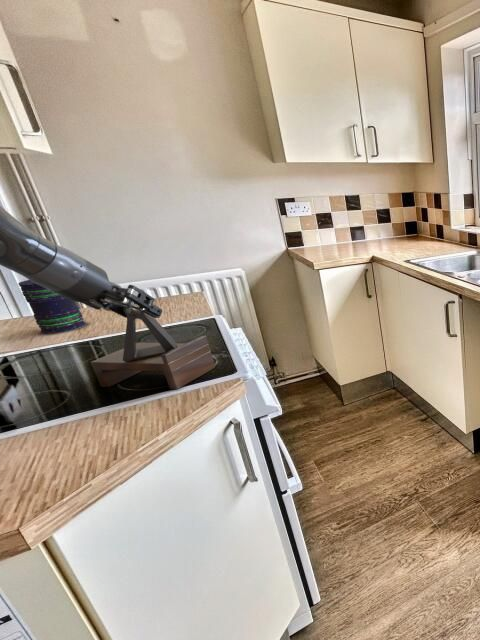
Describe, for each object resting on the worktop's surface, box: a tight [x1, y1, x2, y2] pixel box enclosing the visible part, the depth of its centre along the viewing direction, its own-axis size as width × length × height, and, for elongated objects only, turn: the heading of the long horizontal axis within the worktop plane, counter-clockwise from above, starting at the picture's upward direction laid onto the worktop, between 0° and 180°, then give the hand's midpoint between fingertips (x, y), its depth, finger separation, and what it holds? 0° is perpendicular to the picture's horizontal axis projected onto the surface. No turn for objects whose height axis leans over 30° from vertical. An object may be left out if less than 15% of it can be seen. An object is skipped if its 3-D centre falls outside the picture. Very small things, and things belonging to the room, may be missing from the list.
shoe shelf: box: [90, 335, 216, 390], centre depth 94 cm, size 18×11×8 cm, turn 85°
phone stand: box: [123, 302, 177, 362], centre depth 91 cm, size 9×6×12 cm, turn 126°
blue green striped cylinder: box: [17, 279, 86, 335], centre depth 125 cm, size 10×10×15 cm
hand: (144, 314), depth 91 cm, fingers closed on phone stand, 6 cm apart
